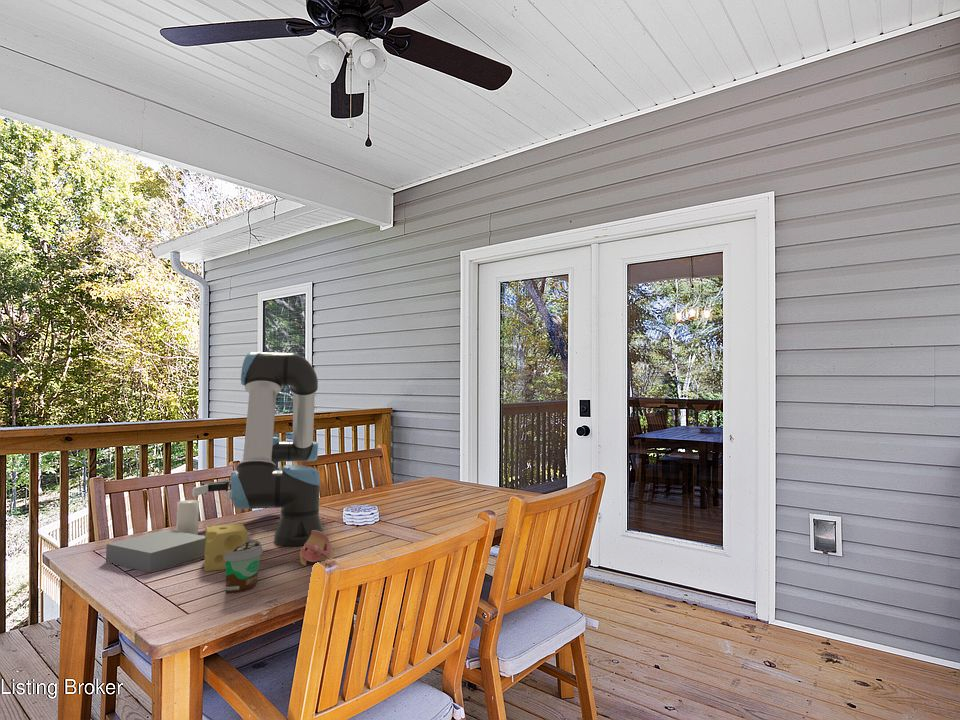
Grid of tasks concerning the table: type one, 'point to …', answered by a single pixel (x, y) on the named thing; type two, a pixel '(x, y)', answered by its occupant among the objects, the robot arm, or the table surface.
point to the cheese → (222, 544)
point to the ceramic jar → (187, 516)
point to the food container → (242, 567)
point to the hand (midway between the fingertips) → (210, 493)
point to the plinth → (156, 550)
